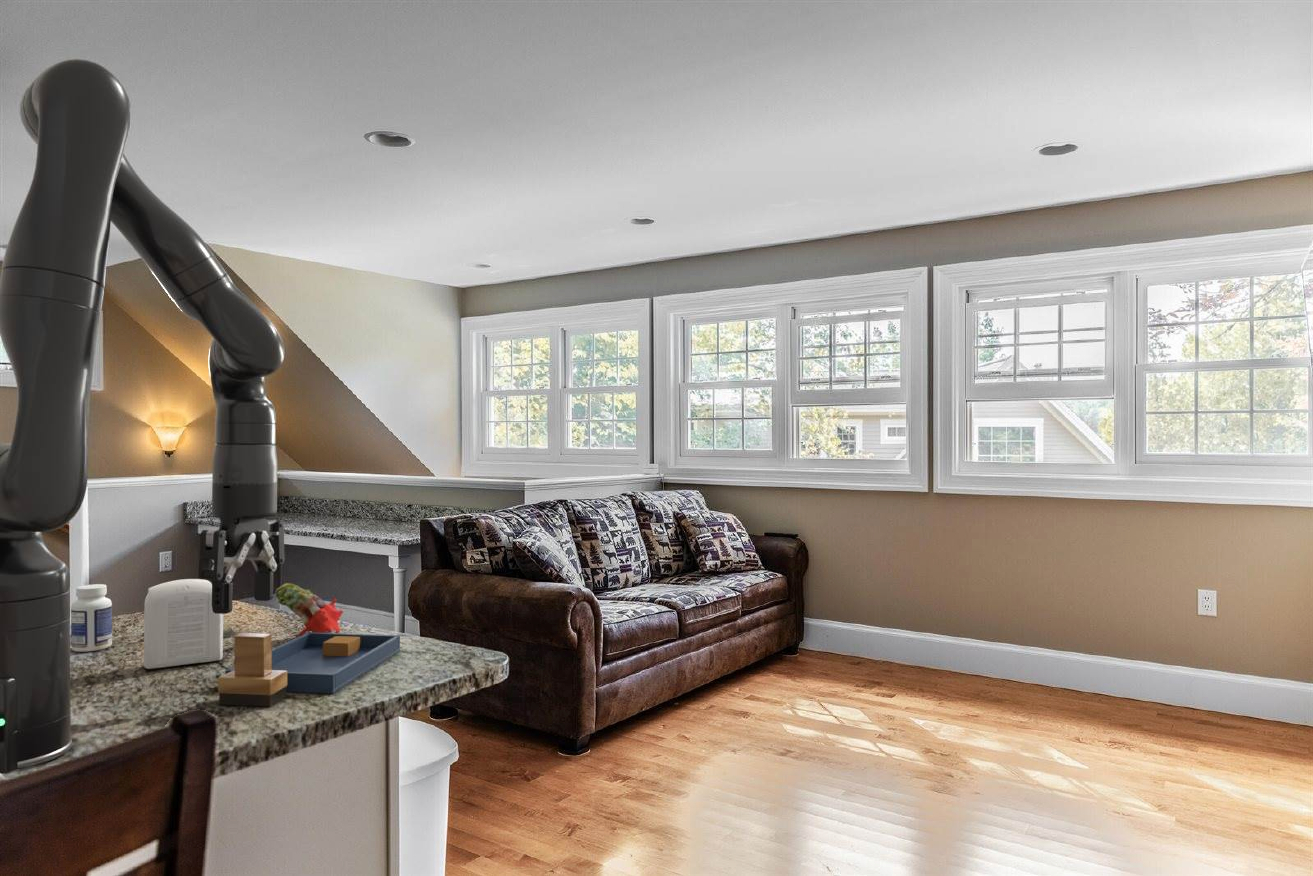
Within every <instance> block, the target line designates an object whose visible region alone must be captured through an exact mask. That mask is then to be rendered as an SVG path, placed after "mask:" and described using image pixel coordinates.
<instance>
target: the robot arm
mask: <svg viewBox="0 0 1313 876" xmlns="http://www.w3.org/2000/svg"><path fill="white" fill-rule="evenodd" d="M132 112H133V111H132V105H131V102H130V98H129V96H128V94H127V91H126V89H125V88H124V86H123V85H122V83H121V82H120V80H119V79H118V78H117V77H116V76H115V74H113V73H112V72H111V71H109V70H108V69H107V68H106V67H105V66H103V65H101V64H99V63H97V62H95V61H94V62H93V61H91V60H88V59H81V58H71V59H65V60H62V61H59V62H55V63H54V64H52V65H50V66H49V67H46V68H45V69H44V70H43V71H42V72H41V73H40V74H39V75H38V76H37V77H36V78H35V79H34V80H33V81H32V82H31V84H30V85H29V86H28V87H27V89H26V90H25V91H24V92H23V94H22V96H21V99H20V103H19V116H20V122H21V123H22V126H23V127H24V129H25V131H26V133H27V135H29V137H30V138H31V139H32V141H34V143H35V144H36V145H37V146H36V147H37V148H36V158H35V159H36V160H35V167H34V172H33V176H32V179H31V183H30V186H29V189H28V191H27V194H26V195H25V199H24V202H23V203H22V206H21V208H20V210H19V213H18V216H17V218H16V221H15V223H14V225H13V228H12V231H11V234H10V237H9V240H8V243H7V245H6V249H5V252H4V256H3V260H2V265H1V272H0V340H1V343H2V346H3V348H4V350H5V353H6V356H7V358H8V361H9V364H10V366H11V369H12V372H13V376H14V379H15V383H16V391H17V404H16V414H15V420H14V426H13V434H12V437H11V441H10V443H8V442H7V443H3V442H2V443H0V774H1V775H2V774H4V775H6V774H10V773H12V772H15V771H17V770H21V769H24V768H28V767H33V766H37V765H39V764H40V765H41V764H43V763H46V762H49V761H52V760H55V759H57V758H59V757H61V756H62V755H64V754H66V753H68V752H69V751H70V750H71V748H72V746H73V737H72V711H71V710H72V709H71V707H72V706H71V701H72V700H71V592H70V591H71V590H70V589H71V585H70V584H71V576H70V573H71V572H70V568H69V567H68V565H67V564H66V563H65V562H64V561H62V560H61V559H60V558H58V557H56V556H55V555H54V554H53V553H52V552H51V551H50V550H49V548H48V547H47V546H46V544H45V542H44V540H43V533H47V532H52V531H56V530H59V529H61V528H62V527H64V526H66V525H67V524H69V523H70V522H71V521H72V520H73V519H74V518H75V516H76V515H77V513H78V512H79V511H80V509H81V506H82V505H83V502H84V499H85V496H86V492H87V486H88V479H89V477H88V476H89V440H90V439H89V435H90V434H89V431H90V430H89V429H90V428H89V427H90V402H91V401H90V400H91V390H92V383H93V371H94V364H95V363H94V362H95V355H96V345H97V338H98V331H99V327H100V321H101V315H102V308H103V302H104V295H105V288H106V287H105V285H106V274H107V264H108V263H107V262H108V256H109V254H108V253H109V245H110V235H111V223H112V224H113V225H114V227H115V228H116V229H117V230H118V232H120V234H121V235H122V236H123V238H124V239H125V240H126V241H127V242H128V243H129V245H130V246H131V247H132V249H134V251H135V252H136V253H137V254H138V256H139V257H140V258H141V260H142V261H143V262H144V264H145V265H146V266H147V267H148V269H149V271H151V274H153V276H154V277H155V279H156V280H157V281H158V282H159V284H160V285H161V287H162V288H163V289H164V291H165V292H166V293H167V294H168V296H169V298H171V300H172V301H173V302H174V304H175V305H176V306H177V308H178V309H179V310H180V311H181V312H182V313H183V314H184V315H185V316H186V317H187V318H189V319H190V320H193V321H196V322H198V323H200V325H202V326H203V327H204V328H205V330H206V331H207V332H208V334H209V335H210V336H211V337H212V338H213V339H212V341H211V343H210V347H209V352H208V353H209V354H208V370H209V371H208V372H209V378H210V384H211V388H212V389H211V390H212V395H213V400H214V404H215V409H216V410H215V420H214V421H215V425H214V426H215V431H214V432H215V433H214V434H215V435H214V443H215V444H214V450H213V457H212V467H211V468H212V469H211V470H212V473H211V474H212V475H211V477H212V479H211V480H212V483H211V515H212V516H213V517H214V518H216V519H218V520H219V527H218V529H203V530H201V532H200V536H199V554H198V573H197V575H198V579H201V580H208V581H209V582H211V584H212V610H213V612H214V613H216V614H223V615H226V614H230V613H232V611H233V601H234V599H233V597H234V596H233V591H234V589H233V588H234V586H233V585H234V583H233V582H232V581H233V578H234V576H235V574H236V571H237V570H238V569H239V568H241V567H243V564H244V562H245V561H250V562H251V564H252V566H253V567H254V568H253V569H254V570H255V572H254V585H253V586H254V587H253V588H254V589H253V590H254V591H253V592H254V594H253V595H254V600H256V601H258V602H268V601H271V600H272V599H273V597H274V572H276V571H277V568H278V567H279V566H282V565H284V564H285V559H286V557H285V524H284V521H283V520H269V518H272V517H274V516H276V514H277V513H278V467H279V466H278V465H279V464H278V455H277V445H276V444H277V443H276V442H277V414H276V408H275V405H274V404H273V403H272V402H271V401H270V400H269V399H268V398H267V390H266V381H265V380H266V379H265V378H266V377H268V376H271V375H272V374H274V373H275V372H277V371H278V370H279V369H280V368H281V366H282V365H283V363H284V359H285V351H286V350H285V346H284V342H283V339H282V337H281V335H280V333H279V332H278V330H277V328H276V327H275V325H274V324H273V323H272V322H271V320H270V319H269V318H268V317H267V316H266V315H265V314H264V313H263V312H262V311H261V309H259V307H258V306H257V305H255V304H254V302H253V301H252V300H250V298H249V297H248V296H247V295H245V294H244V293H243V292H242V291H241V290H240V289H239V288H238V287H237V286H236V285H235V283H234V281H233V280H232V279H231V277H230V275H229V274H228V273H227V271H226V270H225V268H224V267H223V265H222V264H221V263H220V261H219V260H218V258H217V257H216V255H215V254H214V253H213V251H212V250H211V248H210V247H209V245H208V244H207V243H206V242H205V241H204V239H202V237H201V236H200V235H199V234H198V232H197V231H196V230H194V228H193V227H192V226H191V225H190V224H189V223H187V221H185V219H183V218H182V217H181V216H180V215H179V214H177V213H176V212H175V211H173V209H172V208H170V207H169V206H168V205H167V204H166V203H164V202H163V201H162V200H161V198H159V197H158V196H157V195H156V194H155V193H154V192H153V191H152V190H151V189H150V188H149V187H148V185H146V184H145V183H144V181H143V180H142V179H141V177H140V176H139V175H138V174H137V172H136V171H135V169H134V168H133V167H132V165H131V163H130V162H129V160H128V158H127V157H126V155H125V153H124V151H125V149H126V148H125V147H126V145H127V142H128V139H129V134H130V132H131V127H132V121H133V113H132ZM274 548H275V551H274ZM274 554H275V555H274ZM210 560H211V561H212V563H213V565H212V567H211V569H209V568H210ZM224 568H225V571H224Z"/></svg>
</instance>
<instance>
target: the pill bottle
mask: <svg viewBox="0 0 1313 876" xmlns="http://www.w3.org/2000/svg"><path fill="white" fill-rule="evenodd" d="M107 587H108V586H107V584H103V583H96V584H94V583H93V584H85V585H80V586H77V587H76V588H75V589H76V590H75V596H76V598H77V600H75V601H73V602H72V604H70V646H71V650H72V651H74V652H78V653H85V652H96V651H100V650H105V649H108V648H110V647H111V646H112V644H113V603H112V600H111V599H110V598H109V597H106V595H107V592H108V591H107V590H108V588H107Z"/></svg>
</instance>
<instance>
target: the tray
mask: <svg viewBox="0 0 1313 876" xmlns="http://www.w3.org/2000/svg"><path fill="white" fill-rule="evenodd" d="M335 636H347V637H360V650H359V651H357V652H355V653H353V654H352V655H350V656H348V657H347V656H323V642H325V641H327V640H329V639H331V638H333V637H335ZM294 638H295V639H294ZM294 638H292V639H291V640H288V641H286V642H284V643H282V644H280V645H278V646H276V647H272V648H271V649H272V670H283V671H287V686H286V693H307V694H309V693H310V694H330V695H331V694H335V693H337V692H338V691H340V690H341V689H343V688H344V687H346V686H348V685H349V684H351V683H353V682H354V681H355V680H357V679H359V678H360V677H362V676H364V675H365V674H366V673H368V672H370V671H371V670H373V669H374V668H376V667H378V666H379V665H380V664H382V663H384V662H385V661H387V660H389V659H390V658H392V657H393V656H395V655H397V654H398V653H400V652H401V636H400V635H396V634H370V633H369V634H367V633H365V634H364V633H341V632H338V633H336V632H331V633H314V632H311V631H307V632H306V633H305V634H303V635H301V636H299V635H298V637H294ZM233 670H235V666H234V665H233V666H232V667H230V668H228V669H225V671H224V673H225V674H227V673H229V672H231V671H233ZM225 674H224V675H225Z"/></svg>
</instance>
